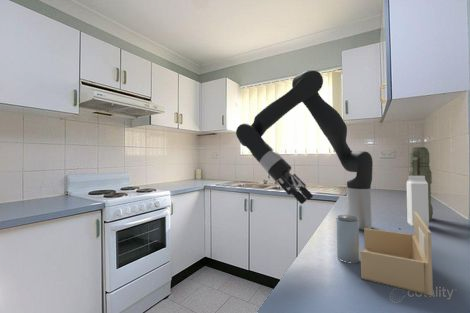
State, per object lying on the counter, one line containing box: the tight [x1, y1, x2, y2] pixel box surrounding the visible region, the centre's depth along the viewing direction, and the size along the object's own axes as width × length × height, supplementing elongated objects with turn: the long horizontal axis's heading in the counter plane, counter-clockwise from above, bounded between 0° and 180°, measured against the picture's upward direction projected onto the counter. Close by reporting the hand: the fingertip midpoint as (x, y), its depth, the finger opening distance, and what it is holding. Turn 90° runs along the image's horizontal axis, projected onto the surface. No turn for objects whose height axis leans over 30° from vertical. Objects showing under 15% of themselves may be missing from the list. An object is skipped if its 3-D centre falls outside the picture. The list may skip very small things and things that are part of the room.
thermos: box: [407, 146, 434, 221], centre depth 111 cm, size 9×12×35 cm
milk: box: [406, 175, 430, 229], centre depth 100 cm, size 6×6×22 cm
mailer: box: [360, 212, 434, 297], centre depth 62 cm, size 22×14×14 cm, turn 148°
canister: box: [336, 214, 360, 264], centre depth 68 cm, size 6×6×13 cm
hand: (307, 200), depth 74 cm, fingers open, 8 cm apart
